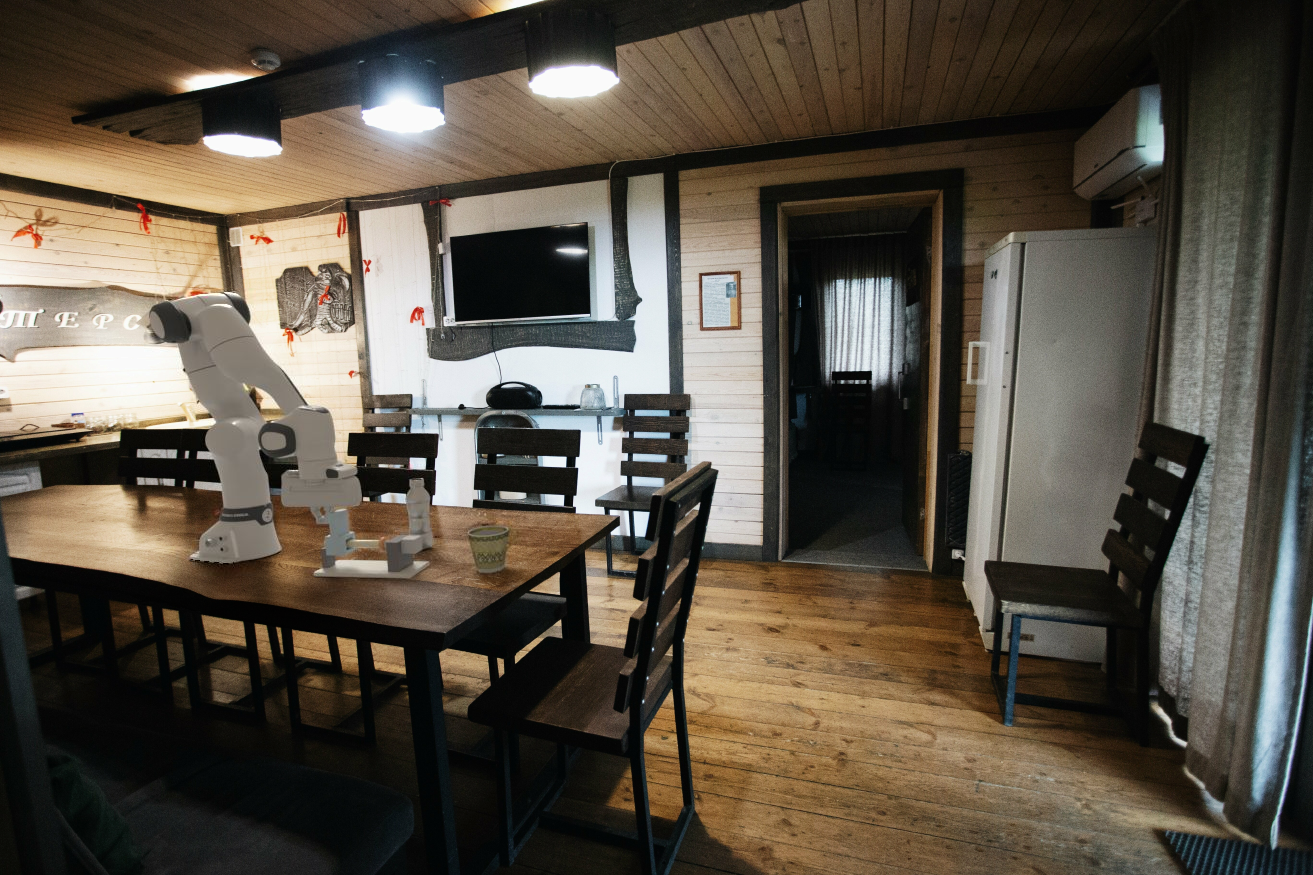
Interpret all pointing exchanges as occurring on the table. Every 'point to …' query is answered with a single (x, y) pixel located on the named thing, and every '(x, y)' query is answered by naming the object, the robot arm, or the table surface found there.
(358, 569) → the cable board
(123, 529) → the table surface
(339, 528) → the pale blue stacked blocks
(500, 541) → the ceramic cup
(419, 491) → the plastic bottle
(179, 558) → the table surface
